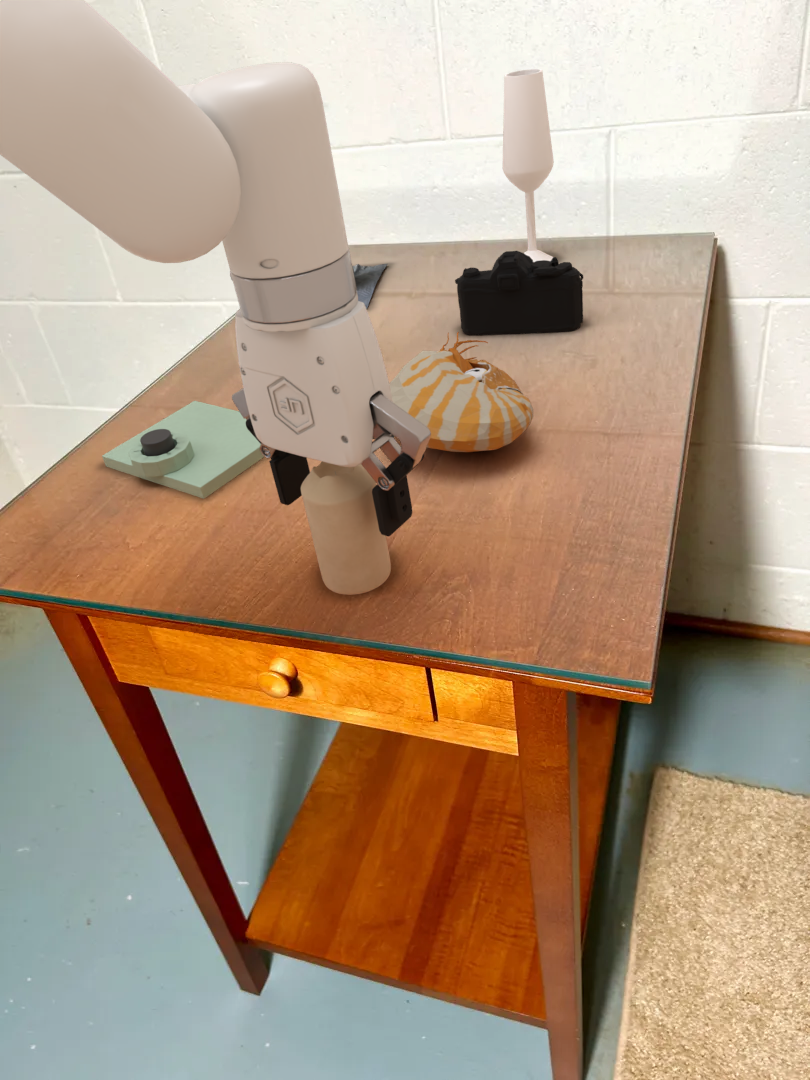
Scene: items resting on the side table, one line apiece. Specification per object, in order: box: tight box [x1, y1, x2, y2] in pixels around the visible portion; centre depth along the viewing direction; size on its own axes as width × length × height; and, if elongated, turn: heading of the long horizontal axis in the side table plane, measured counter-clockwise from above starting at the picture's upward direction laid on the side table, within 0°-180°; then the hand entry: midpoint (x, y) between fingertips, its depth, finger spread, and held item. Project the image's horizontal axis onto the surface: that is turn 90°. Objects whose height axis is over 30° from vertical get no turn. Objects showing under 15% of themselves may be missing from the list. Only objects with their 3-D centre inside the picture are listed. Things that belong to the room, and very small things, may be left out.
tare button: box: [140, 429, 175, 456], centre depth 84 cm, size 3×3×2 cm
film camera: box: [454, 250, 584, 336], centre depth 102 cm, size 15×10×9 cm, turn 76°
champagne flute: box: [502, 68, 555, 262], centre depth 115 cm, size 7×7×24 cm
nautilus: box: [389, 331, 534, 453], centre depth 83 cm, size 8×22×15 cm
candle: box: [301, 461, 392, 596], centre depth 65 cm, size 6×6×10 cm
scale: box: [101, 400, 265, 500], centre depth 87 cm, size 14×15×3 cm
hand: (345, 510), depth 64 cm, fingers open, 9 cm apart
